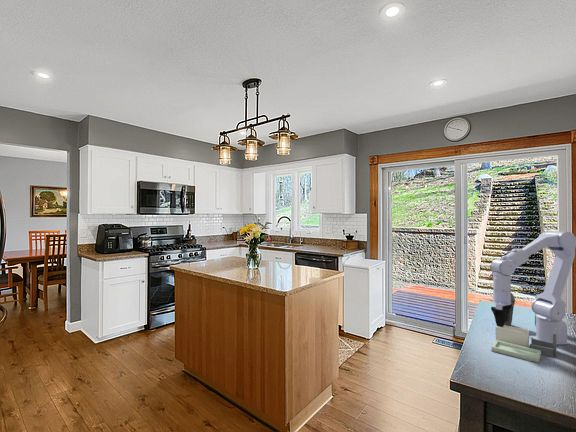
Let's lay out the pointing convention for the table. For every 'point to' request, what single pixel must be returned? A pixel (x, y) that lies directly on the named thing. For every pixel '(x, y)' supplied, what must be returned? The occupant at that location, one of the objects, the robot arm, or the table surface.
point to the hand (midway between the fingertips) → (501, 323)
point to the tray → (517, 351)
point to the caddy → (513, 335)
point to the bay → (545, 345)
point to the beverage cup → (510, 311)
